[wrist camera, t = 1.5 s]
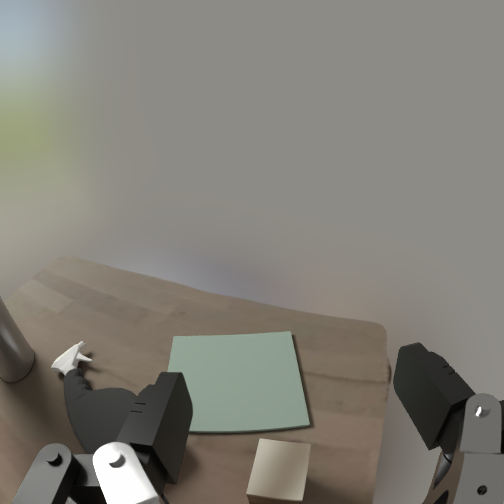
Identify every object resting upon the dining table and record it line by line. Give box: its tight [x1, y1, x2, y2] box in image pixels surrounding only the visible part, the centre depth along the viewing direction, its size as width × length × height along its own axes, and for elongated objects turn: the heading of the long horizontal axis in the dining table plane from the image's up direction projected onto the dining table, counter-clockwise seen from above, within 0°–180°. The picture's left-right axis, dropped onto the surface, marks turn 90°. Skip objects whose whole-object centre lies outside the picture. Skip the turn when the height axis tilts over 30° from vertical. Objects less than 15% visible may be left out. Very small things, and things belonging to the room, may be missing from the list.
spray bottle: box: [51, 341, 138, 454], centre depth 28 cm, size 3×11×24 cm
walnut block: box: [246, 438, 311, 504], centre depth 19 cm, size 4×5×11 cm
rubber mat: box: [168, 331, 310, 433], centre depth 35 cm, size 18×16×1 cm
